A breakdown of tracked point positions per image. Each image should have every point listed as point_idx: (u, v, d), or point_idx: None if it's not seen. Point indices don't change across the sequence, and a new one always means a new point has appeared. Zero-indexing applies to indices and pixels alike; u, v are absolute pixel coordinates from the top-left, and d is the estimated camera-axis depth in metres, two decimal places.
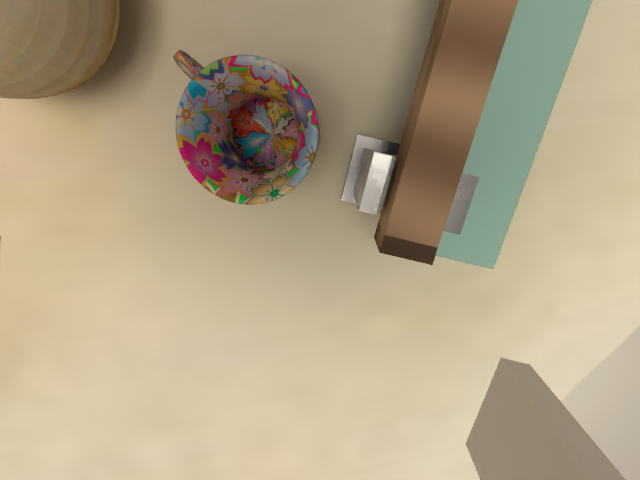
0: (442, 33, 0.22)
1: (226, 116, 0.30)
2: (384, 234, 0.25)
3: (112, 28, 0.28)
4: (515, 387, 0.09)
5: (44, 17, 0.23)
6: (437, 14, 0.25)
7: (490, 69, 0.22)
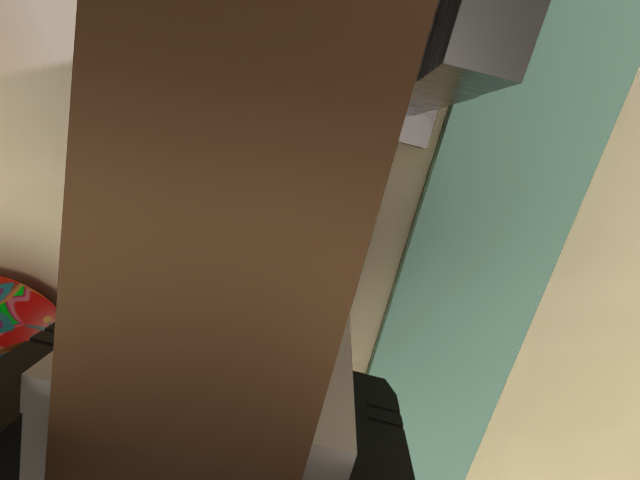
0: (48, 475, 0.06)
1: None
2: None
3: None
4: None
5: None
6: None
7: None
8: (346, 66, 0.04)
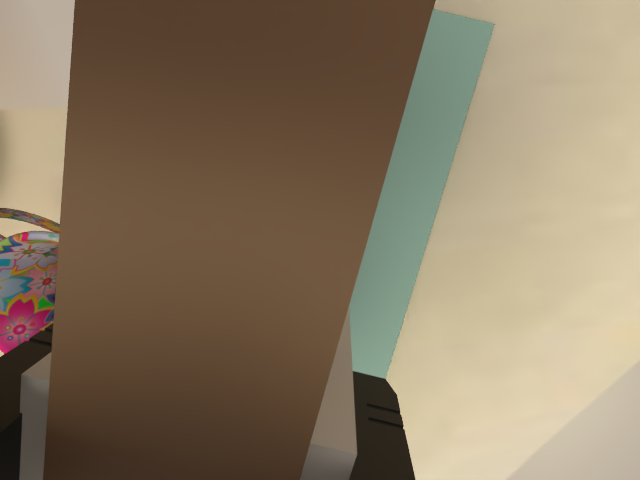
0: (47, 476, 0.06)
1: None
2: None
3: None
4: None
5: None
6: None
7: None
8: (343, 67, 0.04)
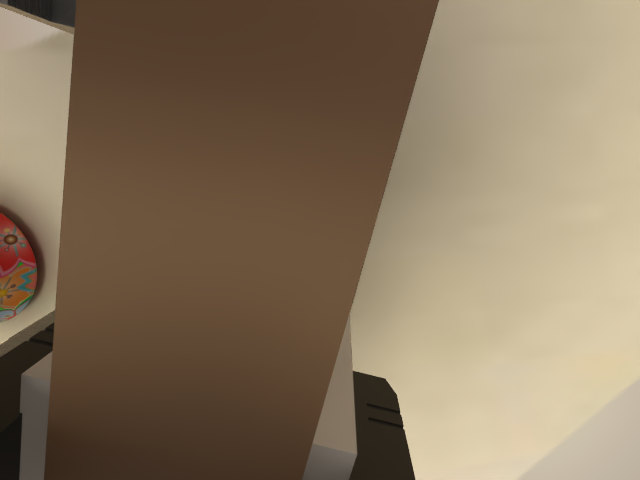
0: (48, 479, 0.06)
1: None
2: None
3: None
4: None
5: None
6: None
7: None
8: (345, 71, 0.04)
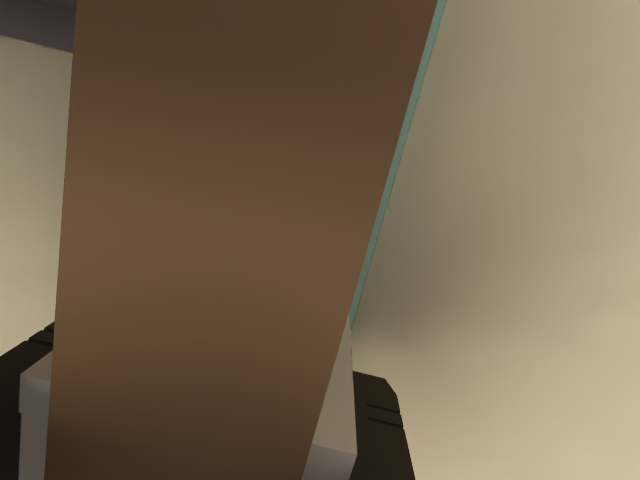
0: (48, 478, 0.06)
1: None
2: None
3: None
4: None
5: None
6: None
7: None
8: (344, 72, 0.04)
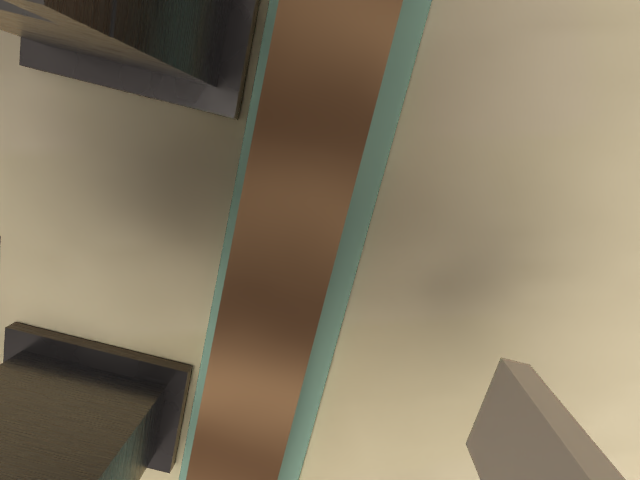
0: (222, 296, 0.14)
1: None
2: None
3: None
4: (514, 386, 0.09)
5: None
6: None
7: (302, 349, 0.14)
8: (342, 138, 0.12)
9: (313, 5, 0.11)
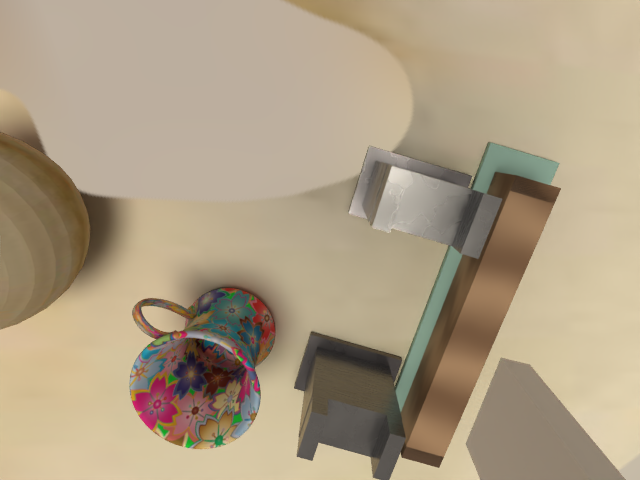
0: (454, 327, 0.32)
1: (183, 342, 0.32)
2: (406, 445, 0.35)
3: (80, 264, 0.31)
4: (514, 386, 0.09)
5: (11, 297, 0.26)
6: (450, 290, 0.35)
7: (485, 351, 0.32)
8: (516, 268, 0.31)
9: (511, 220, 0.30)
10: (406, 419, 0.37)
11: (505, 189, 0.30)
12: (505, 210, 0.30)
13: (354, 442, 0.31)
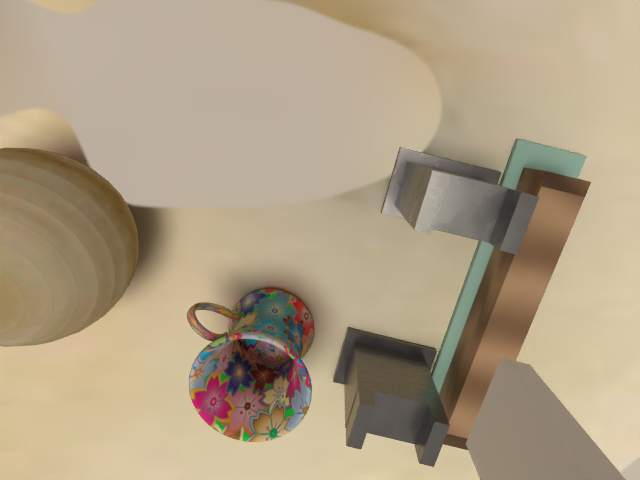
0: (489, 319, 0.34)
1: (231, 342, 0.34)
2: None
3: (132, 273, 0.33)
4: (514, 386, 0.09)
5: (78, 307, 0.28)
6: (482, 283, 0.36)
7: (520, 340, 0.34)
8: (548, 260, 0.32)
9: (543, 215, 0.31)
10: None
11: (536, 185, 0.31)
12: (537, 205, 0.31)
13: (398, 431, 0.33)
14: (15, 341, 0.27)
